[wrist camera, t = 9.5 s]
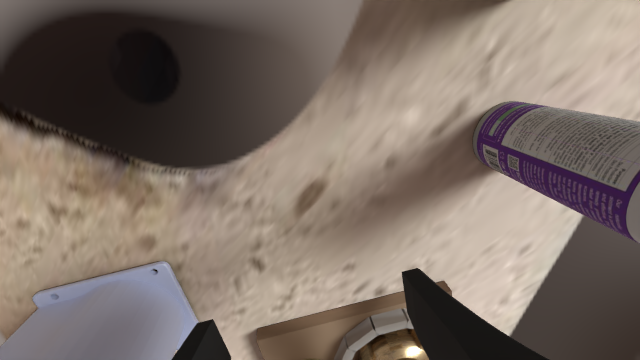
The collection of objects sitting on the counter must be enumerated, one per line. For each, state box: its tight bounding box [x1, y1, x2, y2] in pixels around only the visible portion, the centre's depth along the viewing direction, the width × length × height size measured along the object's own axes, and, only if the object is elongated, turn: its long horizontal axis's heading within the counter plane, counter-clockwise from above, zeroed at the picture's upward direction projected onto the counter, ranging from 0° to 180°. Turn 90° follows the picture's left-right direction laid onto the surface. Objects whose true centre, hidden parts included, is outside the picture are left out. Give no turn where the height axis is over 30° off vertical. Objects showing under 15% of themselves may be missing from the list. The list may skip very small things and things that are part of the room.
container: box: [473, 101, 640, 244], centre depth 14 cm, size 5×5×15 cm
